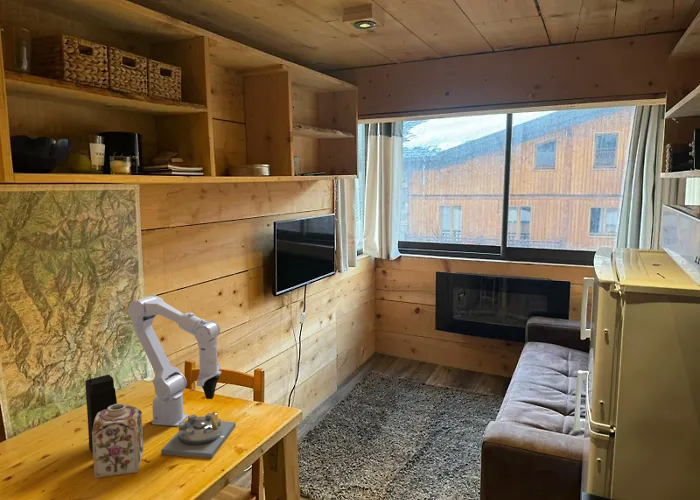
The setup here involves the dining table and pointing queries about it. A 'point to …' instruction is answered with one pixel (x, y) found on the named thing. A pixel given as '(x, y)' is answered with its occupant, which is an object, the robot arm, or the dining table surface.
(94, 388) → the portable radio
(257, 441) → the dining table surface
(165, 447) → the base plate
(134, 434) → the decorative jar
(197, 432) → the notched steel disc
